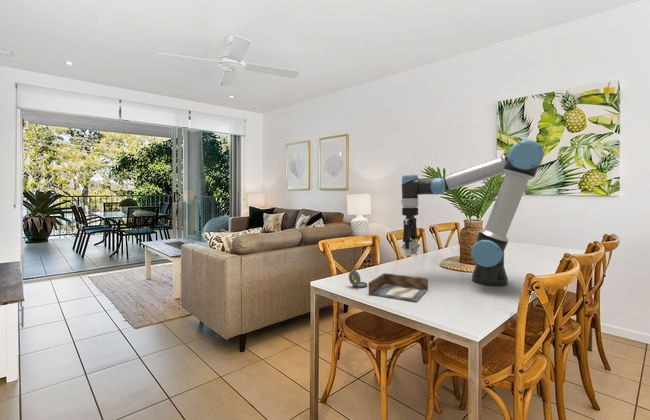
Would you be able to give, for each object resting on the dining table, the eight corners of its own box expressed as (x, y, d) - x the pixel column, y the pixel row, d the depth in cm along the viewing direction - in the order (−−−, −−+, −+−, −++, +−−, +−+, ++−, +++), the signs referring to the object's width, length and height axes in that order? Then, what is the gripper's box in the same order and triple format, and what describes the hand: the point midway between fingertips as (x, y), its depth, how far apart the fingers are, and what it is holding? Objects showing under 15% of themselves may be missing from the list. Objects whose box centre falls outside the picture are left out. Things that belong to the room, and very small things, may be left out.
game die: (412, 261, 164) (422, 244, 166) (415, 258, 156) (425, 240, 158) (396, 252, 166) (406, 235, 168) (398, 248, 158) (408, 231, 160)
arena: (427, 290, 145) (428, 278, 145) (416, 302, 130) (416, 289, 129) (383, 284, 155) (383, 273, 155) (368, 294, 140) (368, 282, 139)
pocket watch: (368, 284, 155) (368, 262, 154) (365, 289, 147) (365, 267, 146) (350, 283, 157) (350, 262, 157) (347, 288, 149) (347, 266, 148)
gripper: (408, 206, 172) (409, 250, 173) (395, 208, 154) (396, 257, 155) (423, 206, 168) (423, 251, 170) (411, 208, 150) (412, 258, 151)
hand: (410, 254), depth 162 cm, fingers closed on game die, 8 cm apart
